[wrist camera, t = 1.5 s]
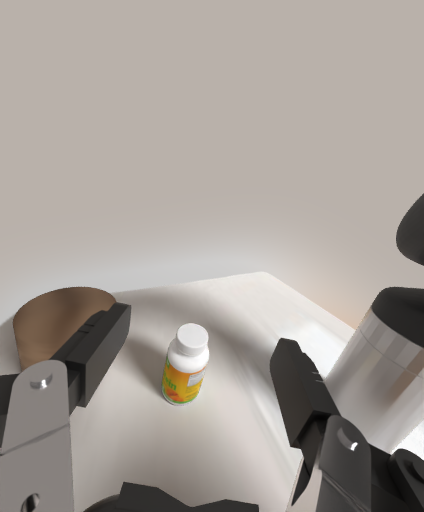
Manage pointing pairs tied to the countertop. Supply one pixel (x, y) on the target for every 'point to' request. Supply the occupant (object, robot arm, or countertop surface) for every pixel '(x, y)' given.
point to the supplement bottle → (185, 364)
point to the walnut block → (54, 320)
